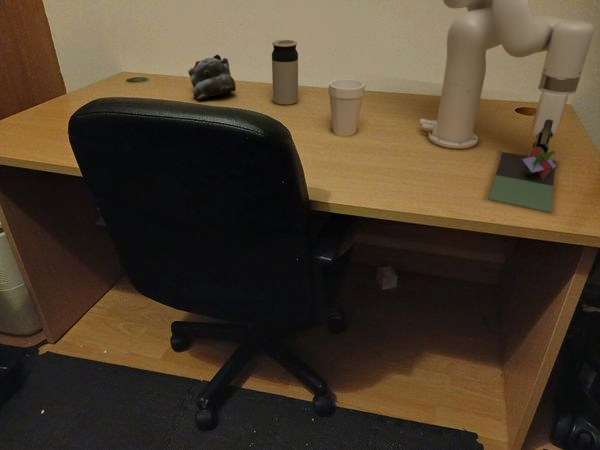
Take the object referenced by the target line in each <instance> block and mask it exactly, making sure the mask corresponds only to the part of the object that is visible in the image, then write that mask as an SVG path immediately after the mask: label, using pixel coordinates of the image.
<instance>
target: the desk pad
mask: <svg viewBox="0 0 600 450" xmlns="http://www.w3.org/2000/svg"><path fill="white" fill-rule="evenodd" d="M524 156H525V155H522V154H517V153H512V152H511V153H510V152H505V151H502V153H501V157H500V161H499V163H498V166H497V170H496V173H495V177H494V180H493V183H492V185H491V186H492V187H491V190H490V193H489V196H488V199H487V200H489V201H491V202H498V203H502V204H507V205H511V206H516V207H520V208H525V209H529V210H535V211H539V212H544V213H549V214H551V213H552V207H553V206H552V205H553V204H552V203H553V193H554V180H555V170H556V169H555V168H553V169H552V170H551V171H550V172H549V174H548V175H547V176H546V177H545V179H544V180H543V179H542V178H541V177H540V175H539V174H538V173H537V172H534V173H530V174H526V175H524V174H525V173H526V172H527V170H528V169H529V168H528V167H527V166H526V164H525V163H524V162H523V160H522V159H523V157H524ZM527 156H528V155H526V156H525V157H524V158H527ZM553 163H554V164H555V165H556V160H554V162H553ZM525 167H526V169H525ZM523 168H524V169H523ZM554 169H555V170H554ZM553 170H554V171H553ZM552 171H553V172H552ZM534 174H535V175H534ZM537 176H538V177H537ZM534 177H535V178H534ZM537 178H538V179H537ZM540 178H541V179H540Z"/></svg>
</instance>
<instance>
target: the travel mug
mask: <svg viewBox="0 0 600 450" xmlns="http://www.w3.org/2000/svg"><path fill="white" fill-rule="evenodd" d="M271 44H272V47H273V50H272V52H271V70H272V71H271V76H272V79H271V80H272V101H273V103H275V104H278V105H281V106H282V105H283V106H290V105H293V104H296V103H297V102H299V52H298V50H297V46H298V42H297V41H296V40H293V39H278V40H273V41H272V43H271Z"/></svg>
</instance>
